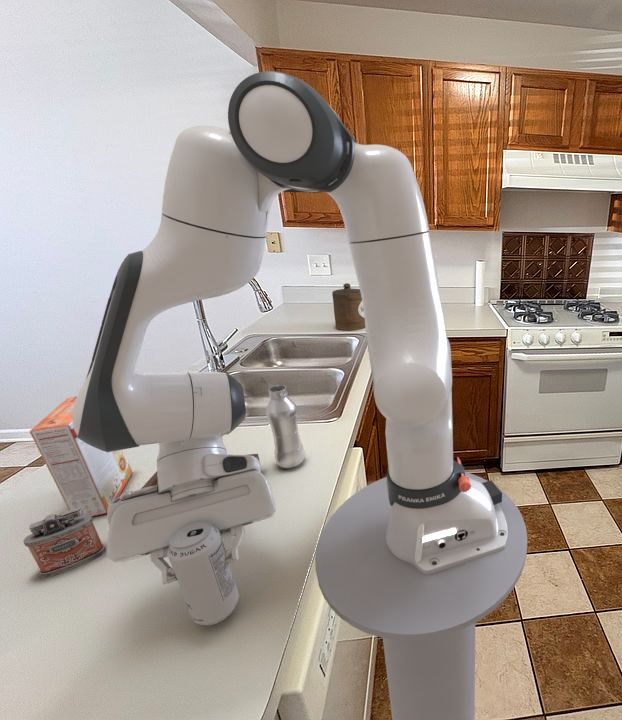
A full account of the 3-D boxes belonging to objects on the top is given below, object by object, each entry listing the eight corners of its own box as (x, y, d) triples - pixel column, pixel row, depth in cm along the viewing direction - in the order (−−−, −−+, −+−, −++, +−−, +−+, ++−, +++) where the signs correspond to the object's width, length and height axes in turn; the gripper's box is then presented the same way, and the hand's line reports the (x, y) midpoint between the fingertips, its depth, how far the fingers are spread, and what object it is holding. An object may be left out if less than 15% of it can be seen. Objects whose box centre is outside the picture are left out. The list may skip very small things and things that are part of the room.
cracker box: (100, 479, 89) (66, 396, 81) (134, 473, 91) (103, 391, 83) (70, 523, 77) (26, 429, 69) (109, 514, 79) (71, 423, 71)
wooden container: (369, 328, 200) (365, 284, 192) (339, 332, 193) (333, 287, 185) (362, 321, 212) (357, 280, 204) (333, 324, 205) (327, 282, 197)
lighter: (40, 581, 65) (14, 534, 61) (42, 568, 67) (18, 522, 64) (106, 555, 70) (85, 510, 66) (106, 543, 72) (86, 499, 69)
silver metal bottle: (296, 452, 99) (282, 379, 92) (312, 462, 96) (299, 387, 88) (271, 465, 94) (254, 389, 87) (286, 475, 91) (270, 397, 83)
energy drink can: (200, 597, 61) (173, 522, 56) (244, 586, 63) (221, 512, 58) (187, 634, 56) (155, 555, 51) (235, 622, 58) (209, 544, 52)
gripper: (96, 493, 53) (96, 605, 49) (265, 453, 62) (279, 545, 58) (117, 499, 59) (119, 600, 54) (270, 462, 67) (283, 546, 63)
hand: (203, 571), depth 56 cm, fingers closed on energy drink can, 6 cm apart
